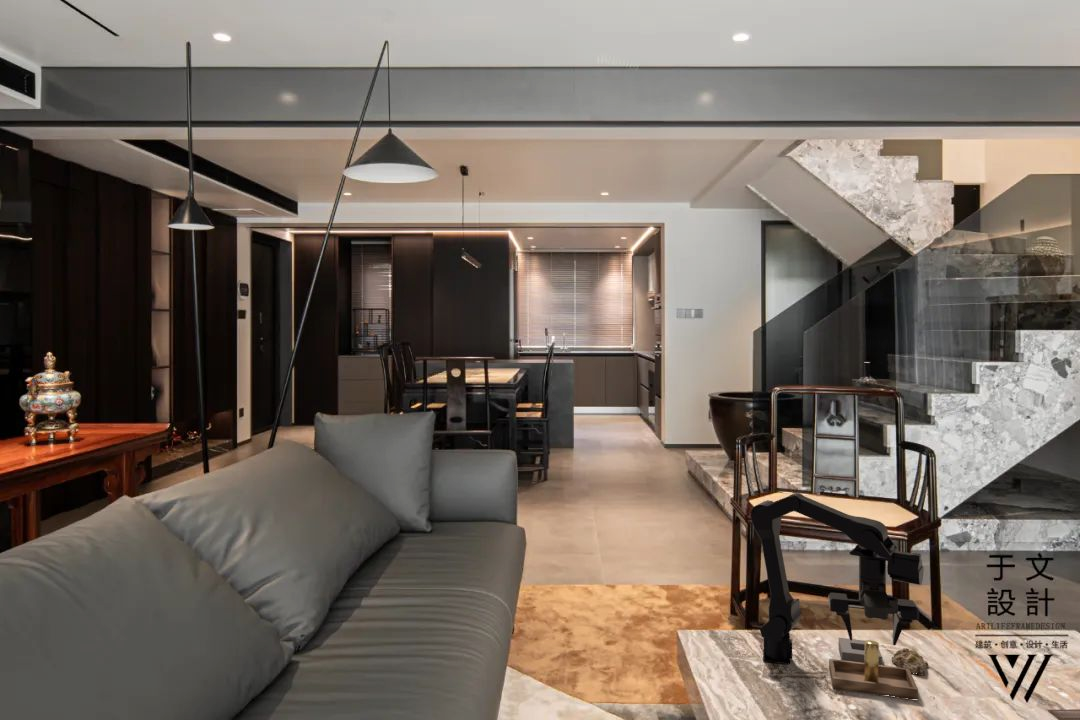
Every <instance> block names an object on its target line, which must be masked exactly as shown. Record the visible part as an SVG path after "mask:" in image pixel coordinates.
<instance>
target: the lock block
mask: <svg viewBox="0 0 1080 720" xmlns="http://www.w3.org/2000/svg"><path fill="white" fill-rule="evenodd" d="M865 641H866V640H864V639H856V638H852V640H850V638H846V637H838V652H839V657H840V660H845V661H853V662H861V663H864V657H865ZM879 665H883V657H882V653H881V651H880V649H879Z"/></svg>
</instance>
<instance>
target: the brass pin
mask: <svg viewBox="0 0 1080 720" xmlns="http://www.w3.org/2000/svg"><path fill="white" fill-rule="evenodd" d="M864 641H865V657H864V681H869V682H877V683H878V670H879V650H880V644H879V642H877V641H875V640H871V639H867V640H864Z"/></svg>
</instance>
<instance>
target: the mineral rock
mask: <svg viewBox="0 0 1080 720" xmlns="http://www.w3.org/2000/svg"><path fill="white" fill-rule="evenodd" d="M891 662H892V663H893V662H894V664H895V665H896V667H900V668H908V669H909V670H910V672H912V673H911V674H913V673H914V674H915V675H917V674H920V675H922V676H924V675H926V673H927V668H928V667H929V663H928V661H926V660H924V657H923V656H921V655H920V654H919V653H918V652H917V651H916V650H910V649H909V648H902V649H899V650H897V651H896V652H895V653H894V654H893V656H891ZM925 667H926V668H925ZM916 673H917V674H916ZM914 674H913V675H914ZM920 675H919V676H920Z"/></svg>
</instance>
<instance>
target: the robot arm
mask: <svg viewBox="0 0 1080 720" xmlns="http://www.w3.org/2000/svg"><path fill="white" fill-rule="evenodd" d="M792 512H793V513H794V512H795V513H798V514H800V515H803V516H804V517H807V518H809V519H811V520H814V521H816V522H819V523H821V524H822V525H825V526H827V527H830V528H832V529H834V530H837V531H839V532H841V533H843V534H844V535H846V537H848V539H850V540H851V541H852V542H854V543H855V544H856V545H855V547H854V548H852V549H851V550H850V551H849V555H851V556H857V557H858V599H853V598H848V595H847V593H840V592H830V593H828V597H827V598H828V601H827V602H828V607H829V611H831V612H834V613H835V615H836V616H840V617H841V618H842V619H841V620H843V622H844V625H845V629H846V631H847V634H848V637H849V638H848V639H850V640H852V639H853V631H852V623H851V614H850V612H849V608H851V609H860V610H864V611H863V612H864V616H865V617H866V618H868V619H879V620H880V619H881V620H882V621H883V620H885V621H886V620H888V619H889V616H890V615H893V626H892V644H893V646H896V645H897V643H898V640H899V638H900V635H901V634H902V630H903V629H904V627H905V626H906V625H907V624H912V623H913V622H914V621H919V620H920V609H919V607H918V606H917V604H916V602H915V601H914V600H913V599H905V598H904V599H903V598H898V597H897V596H890V595H889V596H888V593H887V575H888V576H889V578H892V581H897V582H902V583H906V584H912V585H918V586H921V585H922V584H923V580H924V572H925V571H924V569H925V567H924V565H923V560H922V554H921V553H917V552H906V551H900V550H898V549H899V548H898V547H897V545H896V544H895V543H894V541H893V539H892V538H891V537H890V536H889V532H888V529H887V527H886V525H885V524H884V523H883V522H881V521H880V520H876V519H872V518H867V517H864V516H855V515H851V514H848V513H846V512H842V511H841V510H837V509H835V508H833V507H830V506H829V505H826V504H824V503H822V502H819V501H817V500H814V499H812V498H810V497H808V496H804V495H803V494H802V493H799V492H794V493H792V494H790V495H788V496H786V497H783V498H779V499H778V500H775V501H773V500H768V499H767V500H763V501H762V502H760V503H758V504H756V505H754V506H753V507H752V508H751V510H750V512H749V514H750V515H749V516H750V520H751V524H752V526H753V528H754V529H753V530H755V533H756V534H757V535H758V537H759V539H760V541H761V547H762V553H763V560H764V563H765V570H766V574H767V580H768V587H769V592H770V599H769V600H770V601H769V606H768V620H767V621H766V622H765V623H764V624H763V625H761V627H759V632H760V635H761V637H762V638H763V649H762V661H763V662H768V663H774V664H775V663H776V664H784V665H791V660H793V640H792V639H791V636H790V632H791V631H792V629H794V628H795V627H796V626H797V625H798V623H799V622H800V620H801V616H802V615H803V613H802V610H801V607H800V599H799V598H793V596H792V595H791V593H790V590H789V589H790V588H789V584H788V583H789V582H788V578H787V573H786V567H785V561H784V556H783V550H782V544H781V539H780V532H781V526H782V517H783V516H786V515H788V514H790V513H792Z"/></svg>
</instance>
